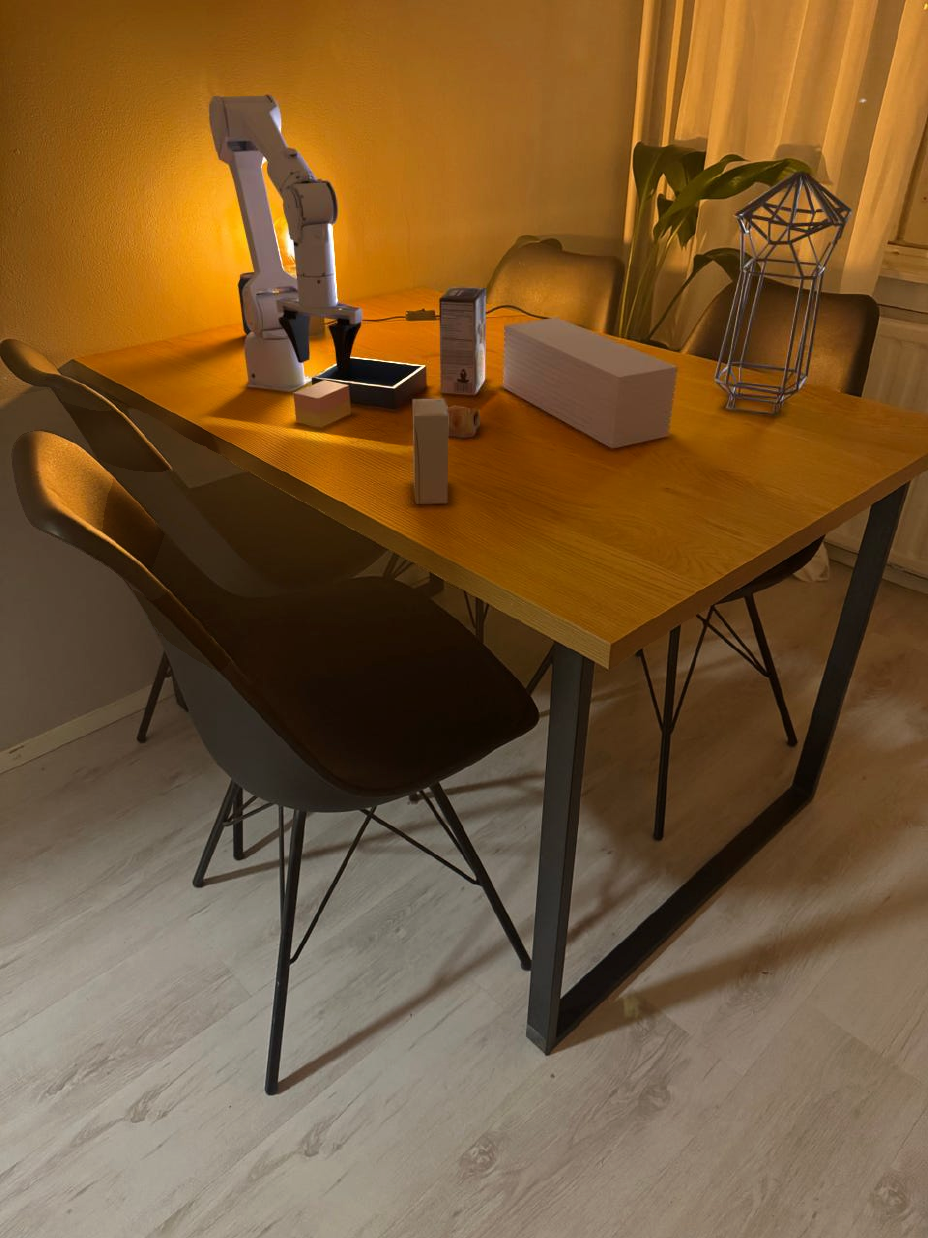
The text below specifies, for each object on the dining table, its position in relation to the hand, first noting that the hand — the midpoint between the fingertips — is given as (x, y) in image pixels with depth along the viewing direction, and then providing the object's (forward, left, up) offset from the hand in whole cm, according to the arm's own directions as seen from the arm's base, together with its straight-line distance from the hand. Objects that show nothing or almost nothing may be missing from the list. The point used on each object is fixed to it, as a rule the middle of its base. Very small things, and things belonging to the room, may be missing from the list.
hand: (323, 364), depth 136 cm
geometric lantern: (+64, +30, -9) cm, 72 cm away
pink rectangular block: (0, -2, -8) cm, 8 cm away
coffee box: (+15, +21, -9) cm, 28 cm away
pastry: (+21, +1, -9) cm, 23 cm away
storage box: (+2, +12, -8) cm, 15 cm away
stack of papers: (+37, +17, -9) cm, 42 cm away
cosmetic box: (+27, -22, -9) cm, 36 cm away
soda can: (-36, +37, -9) cm, 52 cm away
